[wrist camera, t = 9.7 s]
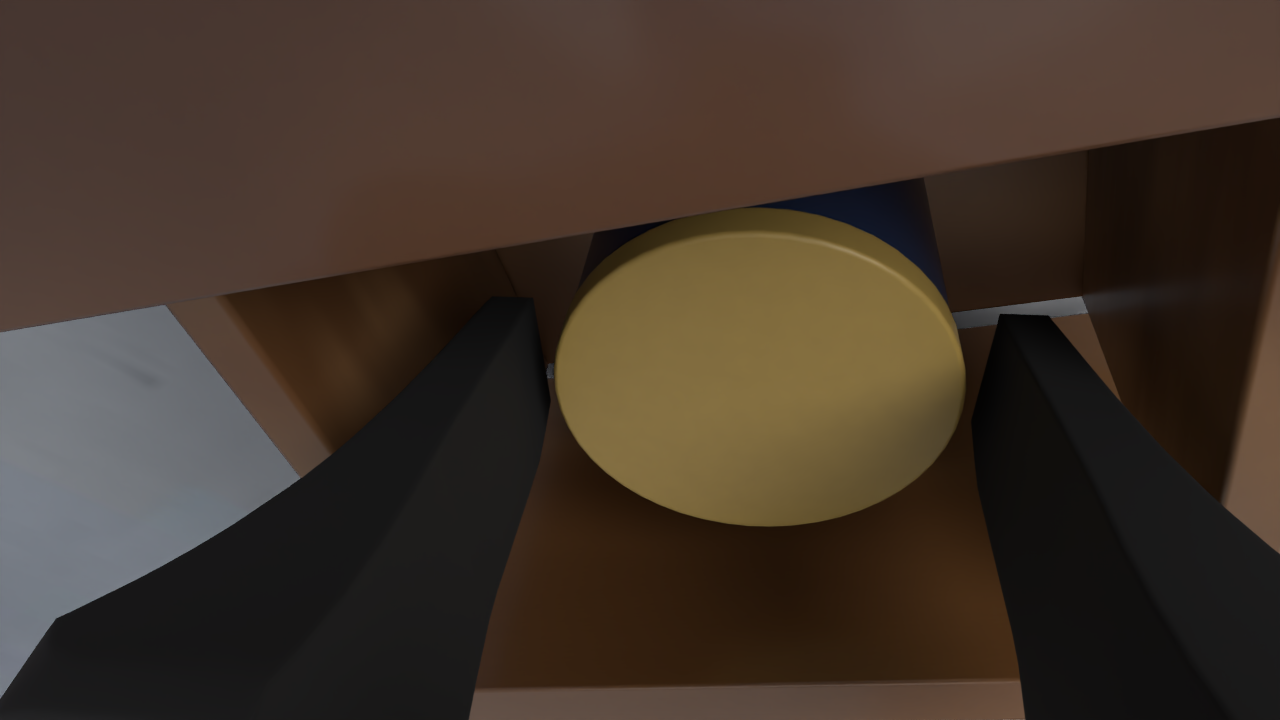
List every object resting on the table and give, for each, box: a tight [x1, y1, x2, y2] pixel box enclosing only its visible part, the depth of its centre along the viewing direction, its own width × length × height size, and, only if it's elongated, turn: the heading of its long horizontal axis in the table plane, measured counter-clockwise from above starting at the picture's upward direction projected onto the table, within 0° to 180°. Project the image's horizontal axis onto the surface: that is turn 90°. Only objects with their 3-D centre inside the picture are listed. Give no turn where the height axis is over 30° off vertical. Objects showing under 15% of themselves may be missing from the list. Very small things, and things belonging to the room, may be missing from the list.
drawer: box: [166, 118, 1280, 720], centre depth 14 cm, size 19×13×8 cm
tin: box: [553, 177, 966, 527], centre depth 14 cm, size 6×6×5 cm
